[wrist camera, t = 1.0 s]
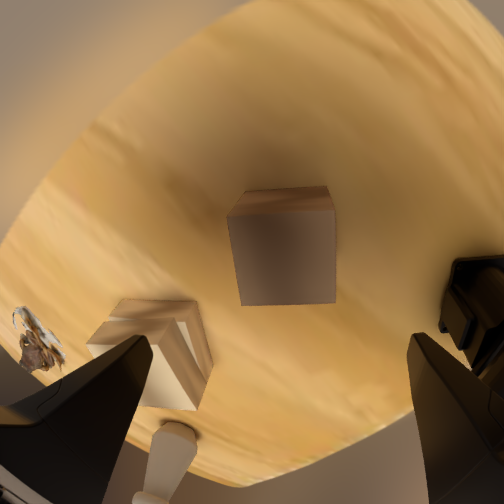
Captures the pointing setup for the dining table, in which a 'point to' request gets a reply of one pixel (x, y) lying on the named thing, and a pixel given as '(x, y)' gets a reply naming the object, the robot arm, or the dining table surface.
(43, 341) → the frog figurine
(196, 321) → the beech slab lower
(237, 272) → the walnut cube
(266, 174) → the dining table surface
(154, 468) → the salt shaker
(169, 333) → the beech slab upper
